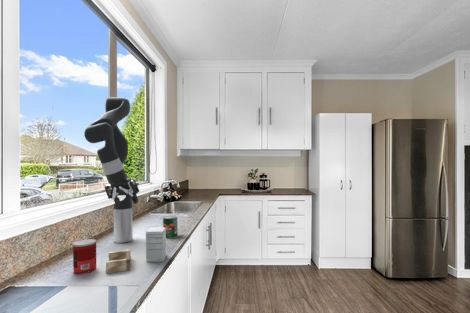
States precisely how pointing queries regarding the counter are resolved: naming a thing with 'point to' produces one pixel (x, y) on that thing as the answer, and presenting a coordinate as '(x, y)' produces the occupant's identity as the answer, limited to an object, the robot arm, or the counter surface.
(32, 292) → the counter surface
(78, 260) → the canned food
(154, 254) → the supplement box
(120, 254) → the wooden bracket
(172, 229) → the canned tomato
